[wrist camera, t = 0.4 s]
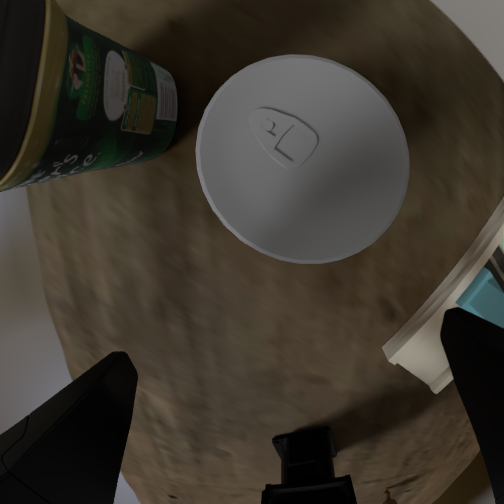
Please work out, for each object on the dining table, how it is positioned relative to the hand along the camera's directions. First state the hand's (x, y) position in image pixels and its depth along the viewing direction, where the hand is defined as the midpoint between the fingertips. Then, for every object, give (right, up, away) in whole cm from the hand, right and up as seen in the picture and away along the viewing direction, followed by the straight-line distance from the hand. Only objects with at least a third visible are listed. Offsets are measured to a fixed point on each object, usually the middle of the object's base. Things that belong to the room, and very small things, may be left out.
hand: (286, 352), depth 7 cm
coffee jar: (-11, +13, +13) cm, 21 cm away
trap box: (+21, 0, +15) cm, 25 cm away
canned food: (+2, +9, +13) cm, 16 cm away
